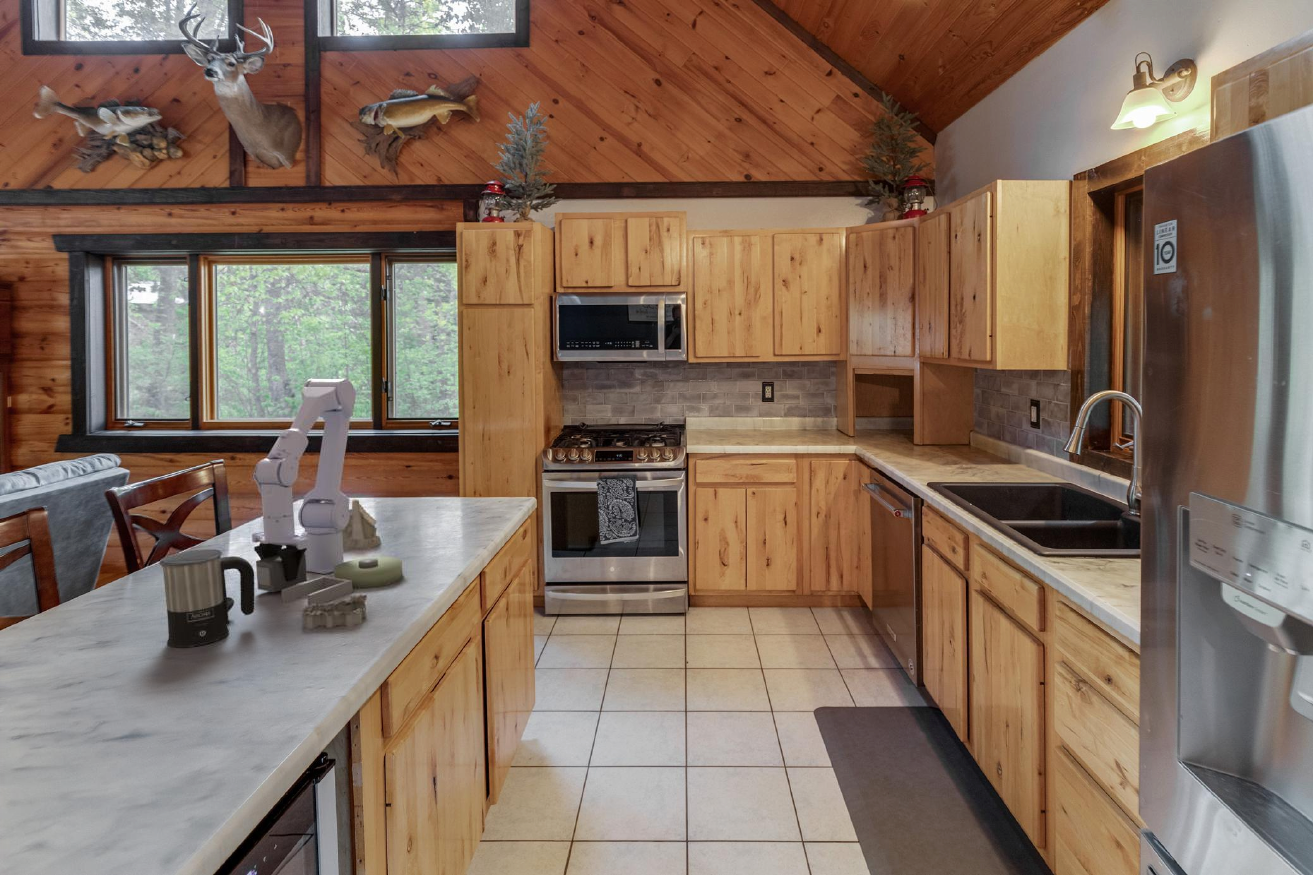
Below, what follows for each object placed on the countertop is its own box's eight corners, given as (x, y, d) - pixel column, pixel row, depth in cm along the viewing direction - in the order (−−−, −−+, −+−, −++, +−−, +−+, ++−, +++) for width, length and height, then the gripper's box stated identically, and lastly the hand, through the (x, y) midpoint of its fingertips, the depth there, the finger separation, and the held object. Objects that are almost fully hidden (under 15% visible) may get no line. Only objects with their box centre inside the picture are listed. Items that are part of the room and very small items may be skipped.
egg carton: (370, 614, 140) (370, 593, 139) (357, 629, 132) (356, 607, 132) (313, 615, 139) (312, 594, 138) (297, 630, 131) (296, 608, 131)
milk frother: (182, 653, 121) (176, 566, 119) (137, 634, 129) (131, 552, 128) (266, 626, 133) (261, 547, 131) (220, 610, 141) (215, 535, 140)
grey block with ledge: (272, 592, 149) (270, 564, 148) (256, 589, 151) (254, 561, 150) (306, 581, 156) (305, 553, 156) (291, 578, 158) (289, 551, 158)
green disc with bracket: (271, 600, 147) (270, 580, 146) (369, 566, 170) (368, 550, 170) (321, 609, 141) (320, 589, 141) (415, 573, 165) (415, 556, 164)
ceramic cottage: (371, 549, 185) (368, 491, 184) (307, 552, 185) (303, 493, 184) (394, 538, 200) (390, 484, 200) (334, 541, 200) (331, 486, 200)
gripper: (237, 516, 151) (241, 579, 153) (286, 522, 145) (290, 588, 147) (267, 509, 158) (271, 570, 159) (315, 515, 152) (319, 578, 153)
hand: (282, 578), depth 154 cm, fingers closed on grey block with ledge, 5 cm apart
